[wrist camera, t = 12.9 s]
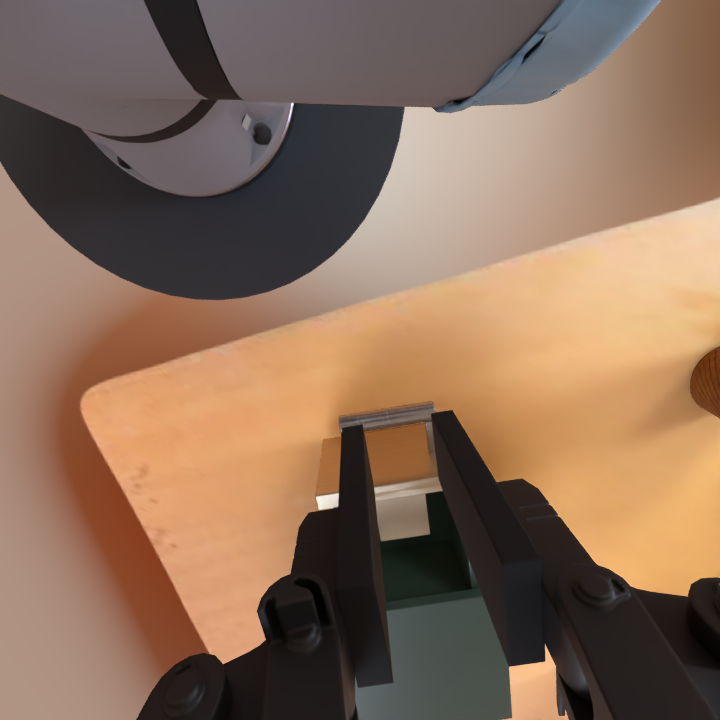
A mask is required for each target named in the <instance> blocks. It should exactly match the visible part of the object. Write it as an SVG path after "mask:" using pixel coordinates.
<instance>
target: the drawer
mask: <svg viewBox="0 0 720 720" xmlns="http://www.w3.org/2000/svg"><path fill="white" fill-rule="evenodd" d="M431 413H436V409H435V405H434V403H433V401H429V402H423V403H416V404H410V405H404V406H398V407H391V408H385V409H379V410H373V411H366V412H360V413H354V414H348V415H341V416H339V427H340V432H341V434H342V428H343V427H349V426H355V425H361V424H363V428H364V431H370V430H376V429H382V428H389V427H395V426H401V425H408V424H414V423H420V422H425V423H423V424H417V425H411V426H405V427H398V428H392V429H386V430H379V431H373V432H367V433H364V434H365V439H366V445H367V450H368V456H369V462H370V467H371V473H372V479H373V484H374V490H375V500H376V501H381V500H388V499H394V498H401V497H407V496H414V495H420V494H425V495H426V503H427V511H428V519H429V527H430V534H429V535H422V536H415V537H408V538H402V539H395V540H388V541H381V540H380V534H379V541H380V551H381V561H382V571H383V581H384V592H385V602H386V601H393V600H400V599H407V598H413V597H420V596H427V595H434V594H440V593H447V592H454V591H461V590H468V589H474V588H479V586H478V583H477V580H476V578H475V575H474V572H473V570H472V567H471V564H470V562H469V559H468V556H467V554H466V551H465V548H464V546H463V543H462V540H461V538H460V535H459V532H458V530H457V527H456V524H455V522H454V519H453V516H452V514H451V511H450V509H449V506H448V503H447V501H446V498H445V495H444V493H443V490H442V487H441V485H440V482H439V479H438V471H437V462H436V454H435V445H434V437H433V428H432V420H431ZM340 456H341V437H335V438H329V439H324V440H323V445H322V452H321V459H320V467H319V474H318V481H317V489H316V496H315V497H316V501H317V505H318V509H319V510H323V509H329V508H333V509H336V508H338V500H339V478H340ZM378 531H379V529H378Z"/></svg>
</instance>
